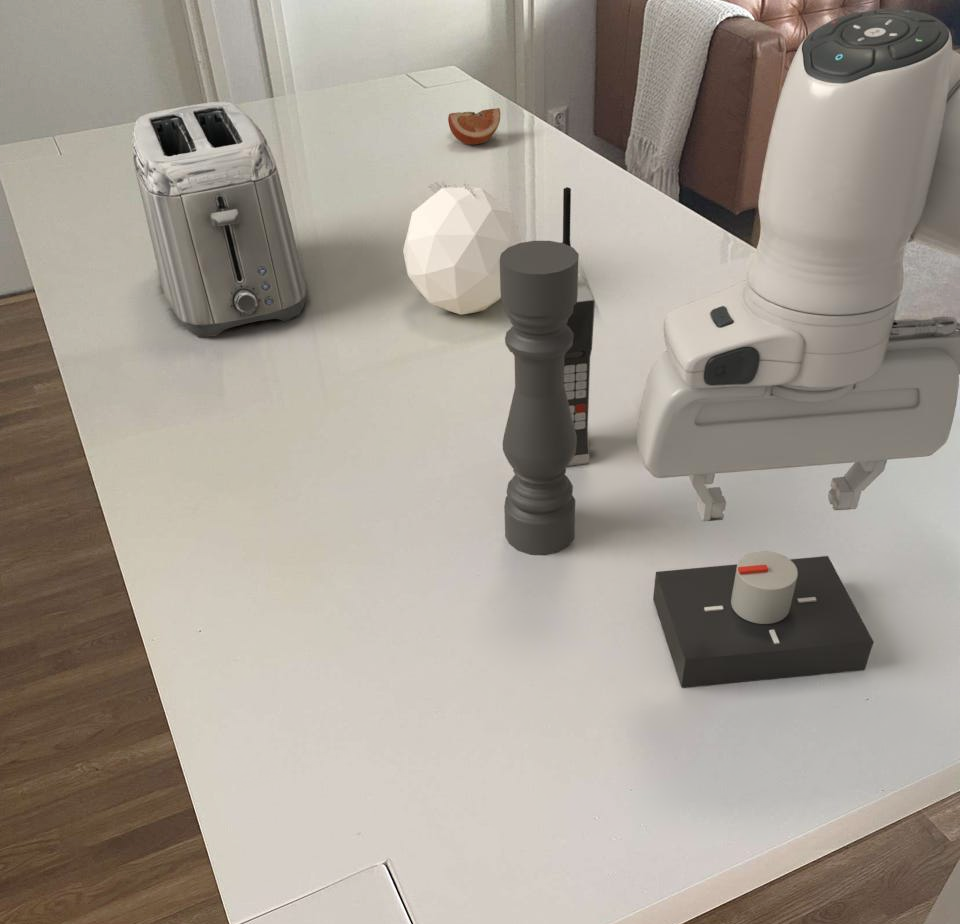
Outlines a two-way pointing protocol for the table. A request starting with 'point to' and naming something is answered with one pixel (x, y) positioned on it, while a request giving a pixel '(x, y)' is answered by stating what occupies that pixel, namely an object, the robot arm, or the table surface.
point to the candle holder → (539, 394)
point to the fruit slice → (474, 125)
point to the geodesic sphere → (459, 247)
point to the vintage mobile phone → (578, 352)
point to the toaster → (217, 217)
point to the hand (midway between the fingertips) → (775, 510)
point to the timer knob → (764, 587)
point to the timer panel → (759, 627)
